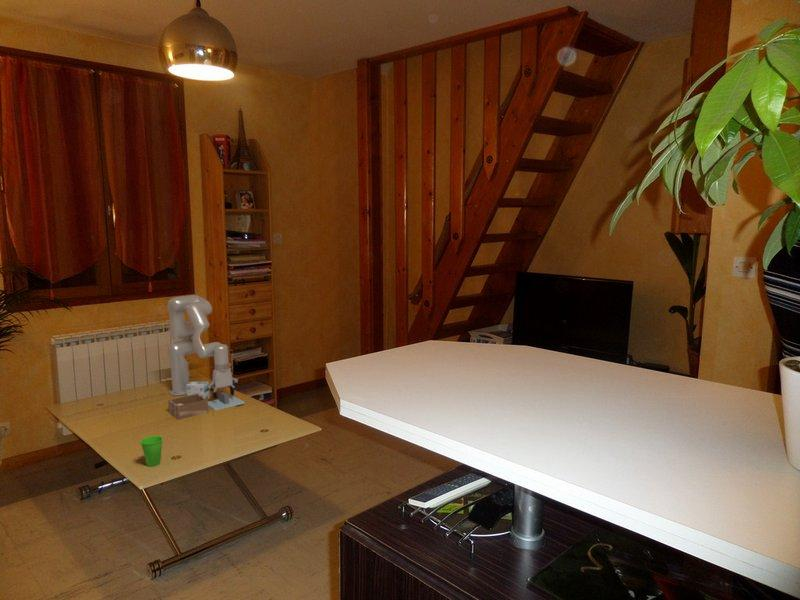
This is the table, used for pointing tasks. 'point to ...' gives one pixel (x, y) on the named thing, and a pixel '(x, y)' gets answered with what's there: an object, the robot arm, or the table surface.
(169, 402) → the crate
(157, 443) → the cup
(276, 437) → the table surface
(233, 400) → the lid
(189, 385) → the light bulb box
